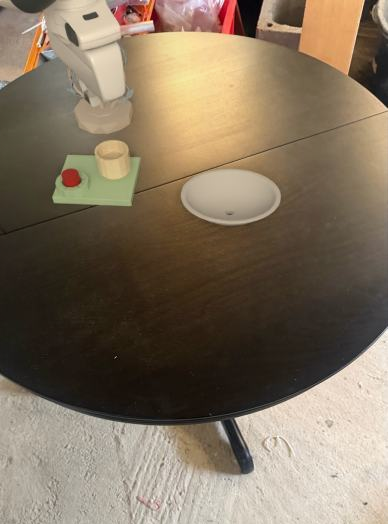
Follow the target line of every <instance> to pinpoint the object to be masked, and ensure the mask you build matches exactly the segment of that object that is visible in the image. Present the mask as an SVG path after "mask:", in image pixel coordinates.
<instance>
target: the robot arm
mask: <svg viewBox="0 0 388 524" xmlns="http://www.w3.org/2000/svg"><path fill="white" fill-rule="evenodd" d="M0 7H3V8H6V9H10V10H12V11H15V12H19V13H22V14H23V13H24V14H31V15H32V14H33V15H34V14H38V13H42V12H41V11H43V16H44V22H45V26H46V31H47V37H48V42H49V45H50V48H51V50H52V52H53V54H54V55H55V56H56V57H57V58H58V59H59V60H60V61H61V62H62V63H63V64H64V65H65V66H66V67H68V68H69V69H70V70H71V72H72V74H73V73H74V74H75V78H76V80H77V82H78V85H79V87H80V90H81V92H82V93H83V97H84V99H85V100H86V101H87V102H88V103H89V104H90V105H91V106H92V107H96V106H99V105H100V104H101V101H102V102H104V103H109V102H112V101H115V100H117V99H120V98H122V97H123V96H124V95H125V94H126V86H125V79H124V72H125V68H124V69H123V66H124V61H123V53H122V51H121V50H120V47H119V44H118V42H119V40H121V39H122V30H121V25H120V23H119V21H118V19H117V18H116V17H115V15H114V14H113V12H112V10H111V9H109V7H108V5H107V2H106V0H0ZM83 97H82V98H83ZM100 99H101V101H100Z"/></svg>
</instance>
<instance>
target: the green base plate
mask: <svg viewBox="0 0 388 524" xmlns="http://www.w3.org/2000/svg"><path fill="white" fill-rule="evenodd" d="M130 161H131V170H130V172H129V173H128V174H127V175H126V176H125V177H123V178H120V179H115V180H112V179H107V178H105V177H103V176H102V175H101V174H100V173H99V171H98V167H97V162H96V158H95V155H89V154H88V155H87V154H67V155H66V158H65V161H64V164H63V166H62V169H61V171H60V174H59V175H58V176H57V177H56V179H55V182H54V184H55V189H54V191H53V194H52V196H51V197H52V198H51V199H52V201H53V204H63V205H65V204H66V205H67V204H69V205H87V206H88V205H93V206H113V207H133V202H134V197H135V192H136V189H137V184H138V180H139V176H140V171H141V165H142V157H141V156H140V157H139V156H130ZM70 168H73V169H76V170H77V171H78V173H79V176H80V180H81V182H80V184H79V185H78V186H75V187H66V186H65V185H64V183H63V180H62V176H61V174H62V172H63V171H64V170H66V169H70Z"/></svg>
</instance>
